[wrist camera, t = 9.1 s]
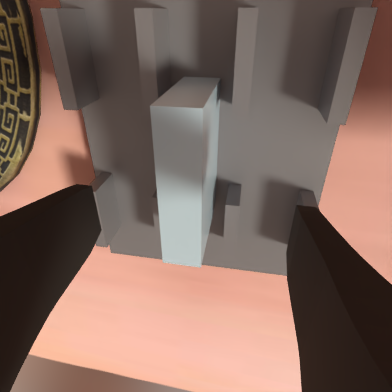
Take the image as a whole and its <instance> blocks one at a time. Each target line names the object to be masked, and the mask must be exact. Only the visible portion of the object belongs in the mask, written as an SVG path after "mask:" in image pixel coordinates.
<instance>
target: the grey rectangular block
mask: <svg viewBox="0 0 392 392" xmlns="http://www.w3.org/2000/svg"><path fill="white" fill-rule="evenodd" d="M220 84H221V78H209V77H183V78H182V79H181V80H180V81H178V82H177V83H176V84H175V85H174V86H173V87H171V88H170V89H169V90H168V91H167V92H165V93H164V94H163V95H162V96H161V97H160V98H158V99H157V100H156V101H155V102H154V103H153V104H151V105H150V113H151V125H152V137H153V149H154V162H155V174H156V186H157V198H158V211H159V223H160V235H161V247H162V260H163V262H164V263H171V264H179V265H186V266H194V267H201V265H202V260H203V256H204V252H205V247H206V243H207V238H208V234H209V229H210V225H211V221H212V216H213V212H214V207H215V201H216V177H217V154H218V131H219V107H220Z"/></svg>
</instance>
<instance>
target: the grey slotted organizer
mask: <svg viewBox="0 0 392 392" xmlns="http://www.w3.org/2000/svg"><path fill="white" fill-rule="evenodd" d="M59 1H60V5H61V8H40V10H41V15H42V19H43V23H44V27H45V31H46V36H47V40H48V44H49V48H50V53H51V57H52V61H53V65H54V69H55V74H56V78H57V82H58V86H59V91H60V95H61V99H62V103H63V107H64V110H79V109H81V108H82V113H83V118H84V123H85V128H86V132H87V137H88V142H89V147H90V152H91V157H92V162H93V167H94V172H95V176H96V178H95V179H94V180H93V181H92V182H91V183H90V184H89V186H92V188H93V193H94V197H95V202H96V206H97V211H98V215H99V220H100V224H101V229H102V231H101V233H100V235H99V237H98V239H97V241H96V246H100V247H108V245H110V250H111V253H117V254H125V255H132V256H140V257H147V258H155V259H162V247H161V235H160V223H159V211H158V198H157V186H156V174H155V162H154V149H153V137H152V125H151V113H150V105H151V104H153V103H154V102H155V101H156V100H157V99H158V98H160V97H161V96H162V95H163V94H164V93H165V92H167V91H168V90H169V89H170V88H171V87H173V86H174V85H175V84H176V83H177V82H178V81H180V80H181V79H182V78H183V77H209V78H221V84H220V107H219V131H218V154H217V177H216V201H215V207H214V212H213V216H212V221H211V225H210V229H209V234H208V238H207V243H206V247H205V252H204V256H203V260H202V265H208V266H216V267H224V268H231V269H239V270H246V271H254V272H262V273H269V274H277V275H285V276H287V263H286V251H287V246H288V241H289V237H290V232H291V227H292V222H293V218H294V213H295V208H296V205H301V206H312V207H316V208H317V209H318V210H319V207H318V205H319V201H320V197H321V193H322V190H323V186H324V182H325V178H326V175H327V171H328V167H329V163H330V160H331V156H332V152H333V148H334V145H335V141H336V137H337V133H338V130H339V126H340V125H346V121H347V117H348V114H349V110H350V106H351V103H352V99H353V96H354V92H355V88H356V85H357V81H358V78H359V74H360V70H361V67H362V63H363V60H364V56H365V52H366V49H367V45H368V41H369V38H370V34H371V31H372V27H373V23H374V20H375V16H376V13H377V9H378V7H371V6H372V2H373V0H59Z"/></svg>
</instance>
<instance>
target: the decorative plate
mask: <svg viewBox="0 0 392 392" xmlns="http://www.w3.org/2000/svg"><path fill="white" fill-rule="evenodd" d="M40 115H41V67H40V61H39V55H38V49H37V42H36V36H35V30H34V24H33V18H32V14H31V11H30V7H29V4H28V1H27V0H0V192H1V191H2V190H3V189H4V188H5V187H6V186H7V185H8V184H9V183H10V182H11V181H12V180H13V179H14V178H15V177H16V176H17V175H18V174H19V173H20V171H21V169H22V168H23V166H24V164H25V162H26V160H27V158H28V156H29V155H30V153H31V151H32V149H33V145H34V141H35V136H36V132H37V128H38V124H39V119H40Z"/></svg>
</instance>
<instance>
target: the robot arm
mask: <svg viewBox="0 0 392 392" xmlns="http://www.w3.org/2000/svg"><path fill="white" fill-rule="evenodd" d="M101 231H102V229H101V224H100V220H99V215H98V211H97V206H96V202H95V197H94V193H93V188H92V186H89V185H79V184H76V185H73V186H70V187H67V188H65V189H62V190H60V191H58V192H55V193H53V194H51V195H48V196H46V197H44V198H42V199H40V200H37V201H35V202H33V203H31V204H28V205H26V206H24V207H22V208H19V209H17V210H15V211H12V212H10V213H7V214H5V215H3V216H0V392H10V390H11V388H12V386H13V384H14V382H15V379H16V377H17V375H18V373H19V371H20V369H21V367H22V365H23V363H24V361H25V359H26V357H27V355H28V353H29V351H30V349H31V347H32V345H33V343H34V341H35V340H36V338H37V336H38V334H39V332H40V330H41V329H42V327H43V325H44V323H45V321H46V319H47V318H48V316H49V314H50V313H51V311H52V309H53V308H54V306H55V305H56V303H57V302H58V300H59V299H60V297H61V296H62V294H63V293H64V291H65V290H66V289H67V287H68V286H69V284H70V283H71V281H72V280H73V278H74V277H75V275H76V274H77V273H78V271H79V270H80V268H81V267H82V265H83V264H84V262H85V261H86V259H87V258H88V256H89V255H90V253H91V251H92V249H93V247H94V245H95V243H96V241H97V239H98V237H99V235H100V233H101ZM286 263H287V281H288V287H289V294H290V300H291V306H292V312H293V318H294V324H295V330H296V336H297V342H298V349H299V357H300V371H301V386H302V392H392V284H390V283H389V282H388V281H387V280H386V279H385V278H384V277H382V276H381V275H380V274H379V273H378V272H377V271H376V270H375V269H374V268H373V267H372V266H371V265H370V264H368V263H367V262H366V261H365V260H364V259H363V258H362V257H361V256H360V255H359V254H358V253H357V252H356V251H355V250H354V249H353V248H352V247H351V246H350V245H349V244H348V242H347V241H346V240H345V239H344V238H343V237H342V236H341V235H340V234H339V233H338V232H337V230H336V229H335V228H334V227H333V226H332V225H331V224H330V222H329V221H328V220H327V219H326V218H325V217H324V216H323V214H322V213H321V212H320V211H319V210H318V209H317V208H316V207H312V206H301V205H296V208H295V213H294V218H293V222H292V227H291V232H290V237H289V241H288V246H287V251H286Z"/></svg>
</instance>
